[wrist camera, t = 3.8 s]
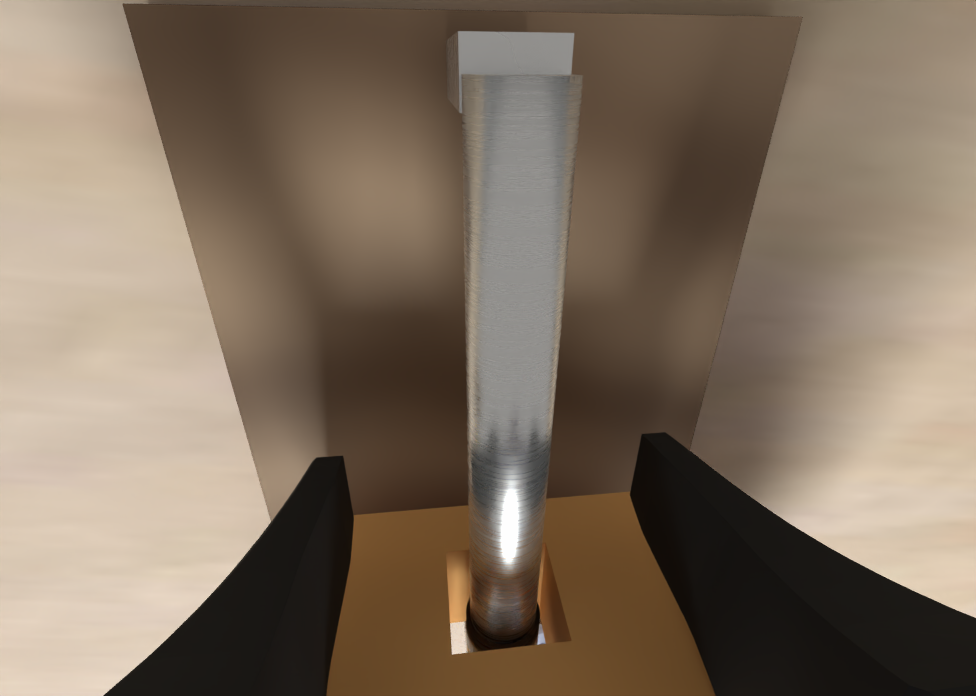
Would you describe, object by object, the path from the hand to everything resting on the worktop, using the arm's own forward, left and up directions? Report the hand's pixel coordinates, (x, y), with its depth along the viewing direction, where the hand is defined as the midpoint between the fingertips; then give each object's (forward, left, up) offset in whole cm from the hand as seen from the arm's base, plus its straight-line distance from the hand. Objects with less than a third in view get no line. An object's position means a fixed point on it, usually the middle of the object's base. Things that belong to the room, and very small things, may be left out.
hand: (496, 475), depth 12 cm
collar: (-4, 0, -1) cm, 4 cm away
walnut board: (+1, 0, -3) cm, 3 cm away
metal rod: (+1, 0, -3) cm, 3 cm away
